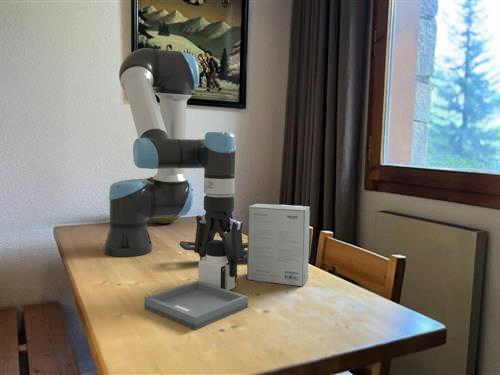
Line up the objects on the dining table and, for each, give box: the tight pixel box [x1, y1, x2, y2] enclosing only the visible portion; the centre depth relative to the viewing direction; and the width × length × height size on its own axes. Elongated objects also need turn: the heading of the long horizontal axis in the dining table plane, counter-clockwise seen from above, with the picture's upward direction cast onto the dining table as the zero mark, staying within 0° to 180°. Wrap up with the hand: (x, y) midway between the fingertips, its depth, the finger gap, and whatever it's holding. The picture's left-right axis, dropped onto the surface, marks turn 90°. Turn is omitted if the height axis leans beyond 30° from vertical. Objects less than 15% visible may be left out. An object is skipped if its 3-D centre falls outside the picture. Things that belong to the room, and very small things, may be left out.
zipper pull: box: [179, 240, 248, 266], centre depth 134 cm, size 9×7×25 cm
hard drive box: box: [246, 203, 311, 287], centre depth 118 cm, size 16×8×20 cm, turn 71°
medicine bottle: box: [197, 238, 238, 289], centre depth 111 cm, size 7×7×12 cm
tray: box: [144, 280, 249, 331], centre depth 97 cm, size 16×16×2 cm
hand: (217, 284), depth 111 cm, fingers closed on medicine bottle, 7 cm apart
